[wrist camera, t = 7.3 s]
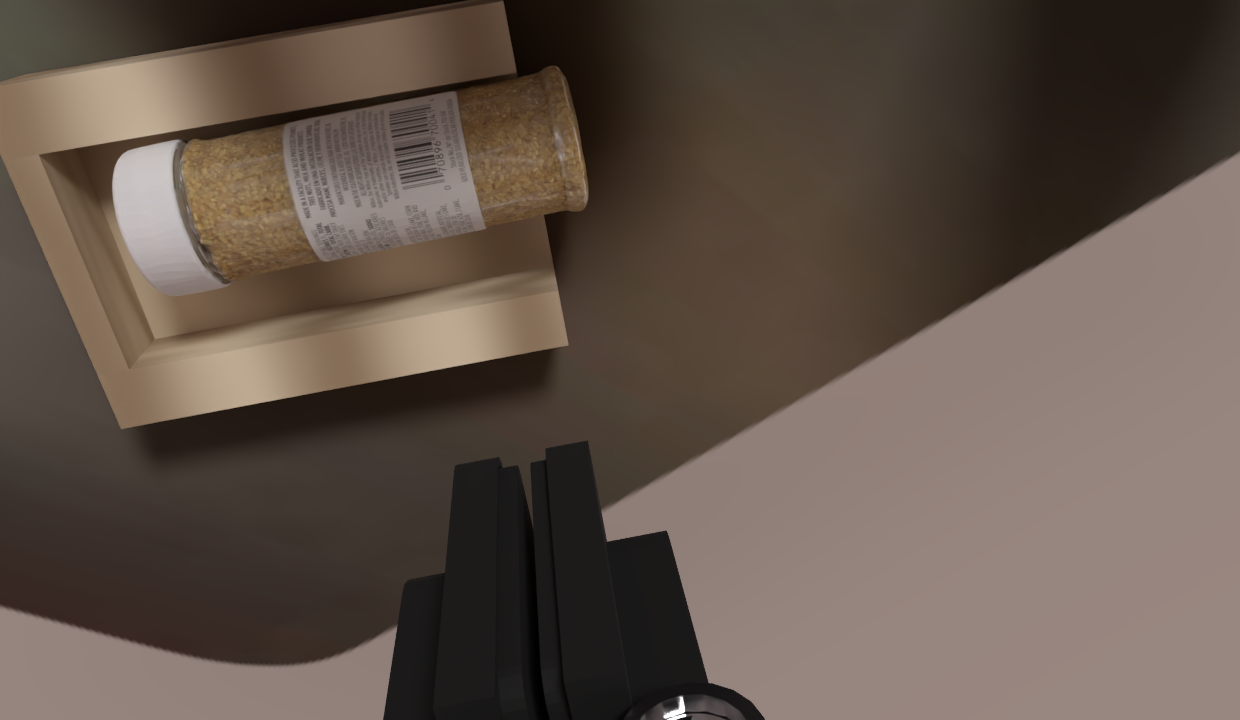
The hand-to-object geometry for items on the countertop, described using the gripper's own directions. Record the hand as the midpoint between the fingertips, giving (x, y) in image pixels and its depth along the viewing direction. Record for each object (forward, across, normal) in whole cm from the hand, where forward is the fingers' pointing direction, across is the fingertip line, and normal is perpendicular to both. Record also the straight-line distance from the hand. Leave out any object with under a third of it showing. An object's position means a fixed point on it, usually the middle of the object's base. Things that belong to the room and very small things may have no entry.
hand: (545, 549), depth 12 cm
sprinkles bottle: (+19, -2, -1) cm, 20 cm away
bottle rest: (+22, +7, 0) cm, 23 cm away
